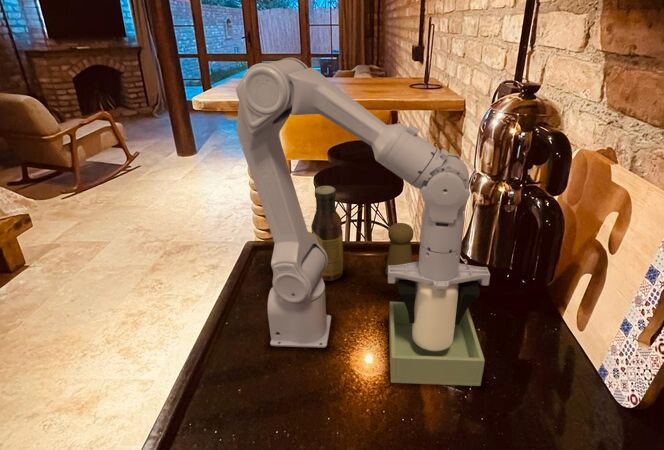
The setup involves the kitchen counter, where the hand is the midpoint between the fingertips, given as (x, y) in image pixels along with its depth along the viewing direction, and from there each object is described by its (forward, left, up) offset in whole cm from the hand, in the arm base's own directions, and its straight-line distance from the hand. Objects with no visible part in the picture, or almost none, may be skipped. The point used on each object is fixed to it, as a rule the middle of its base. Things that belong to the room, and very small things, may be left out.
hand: (433, 319), depth 63 cm
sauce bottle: (-19, +22, -7) cm, 30 cm away
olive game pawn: (-4, +24, -7) cm, 25 cm away
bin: (0, 0, -7) cm, 7 cm away
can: (0, 0, -4) cm, 4 cm away
